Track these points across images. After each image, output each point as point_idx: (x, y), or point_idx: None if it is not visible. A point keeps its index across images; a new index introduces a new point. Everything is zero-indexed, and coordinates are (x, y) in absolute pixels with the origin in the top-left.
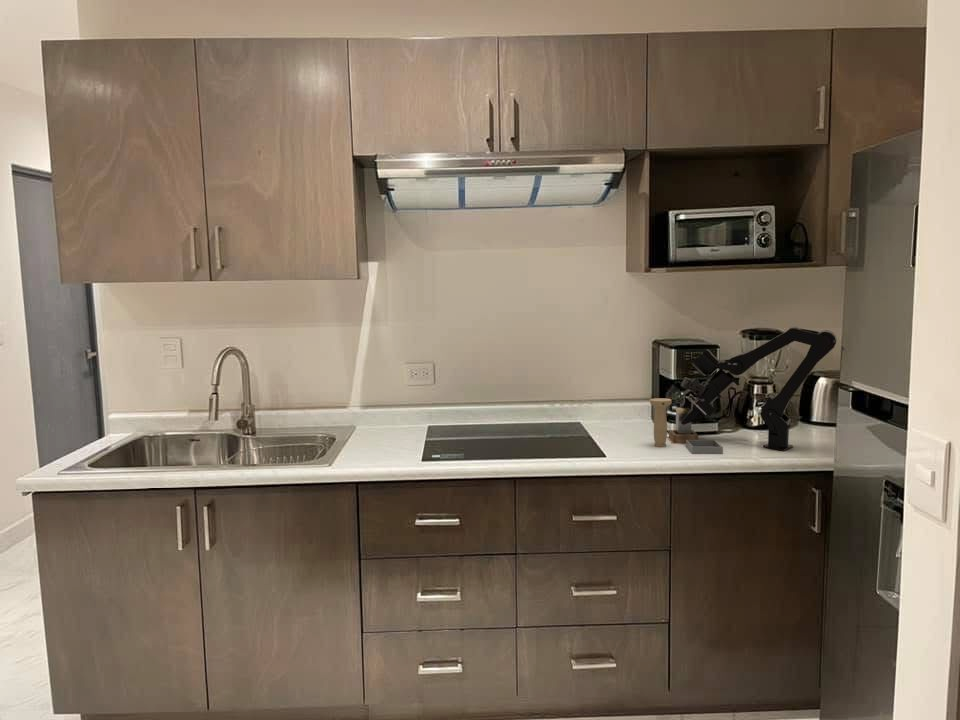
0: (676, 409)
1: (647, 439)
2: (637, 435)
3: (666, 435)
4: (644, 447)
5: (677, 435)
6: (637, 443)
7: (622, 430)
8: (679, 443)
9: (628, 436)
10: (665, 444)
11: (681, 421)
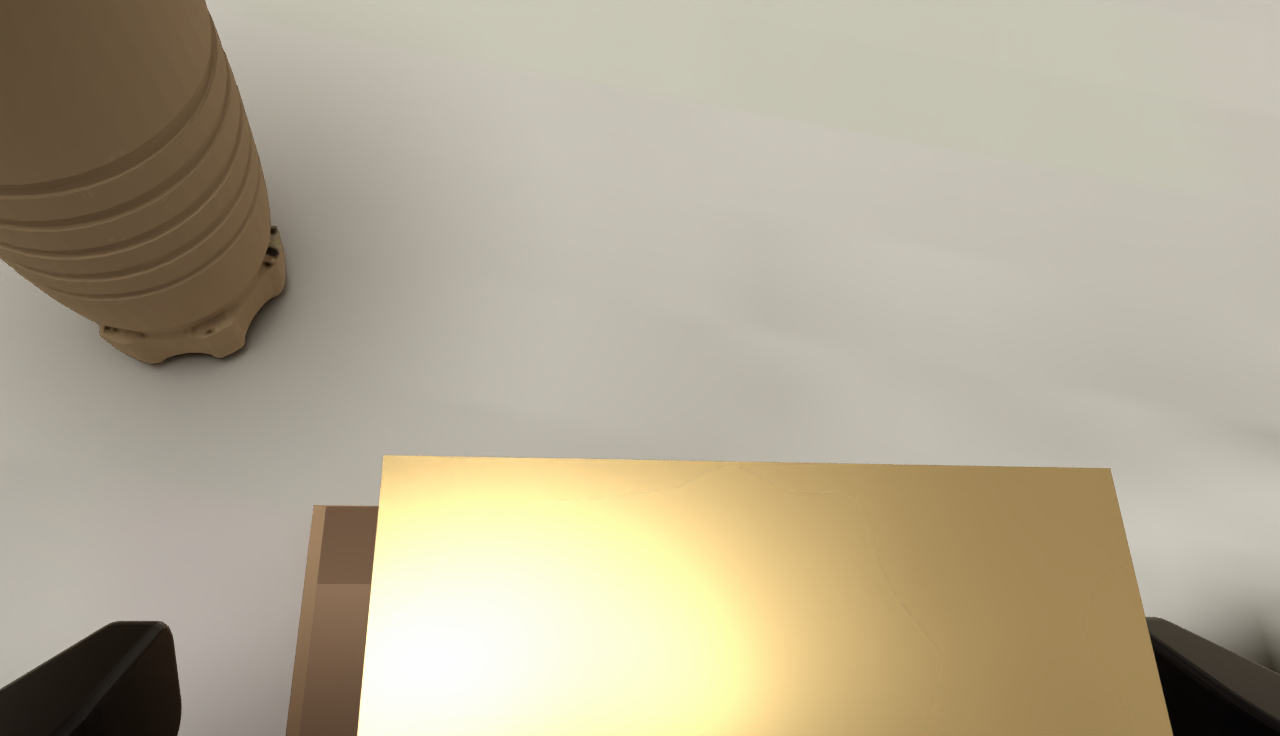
0: (980, 483)
1: (751, 210)
2: (992, 128)
3: (21, 260)
4: None
5: (319, 601)
6: (492, 37)
7: (1246, 11)
8: (306, 669)
9: (910, 12)
10: (106, 336)
11: (128, 636)
